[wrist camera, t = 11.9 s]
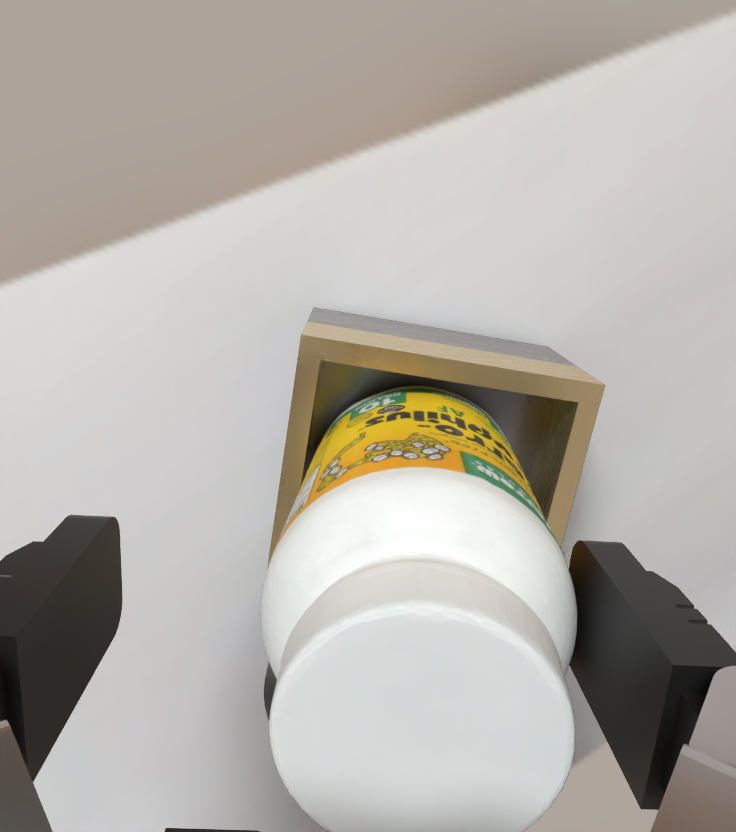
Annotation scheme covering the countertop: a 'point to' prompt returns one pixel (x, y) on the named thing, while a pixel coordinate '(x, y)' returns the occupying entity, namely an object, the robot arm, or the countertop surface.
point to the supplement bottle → (419, 627)
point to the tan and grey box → (449, 370)
